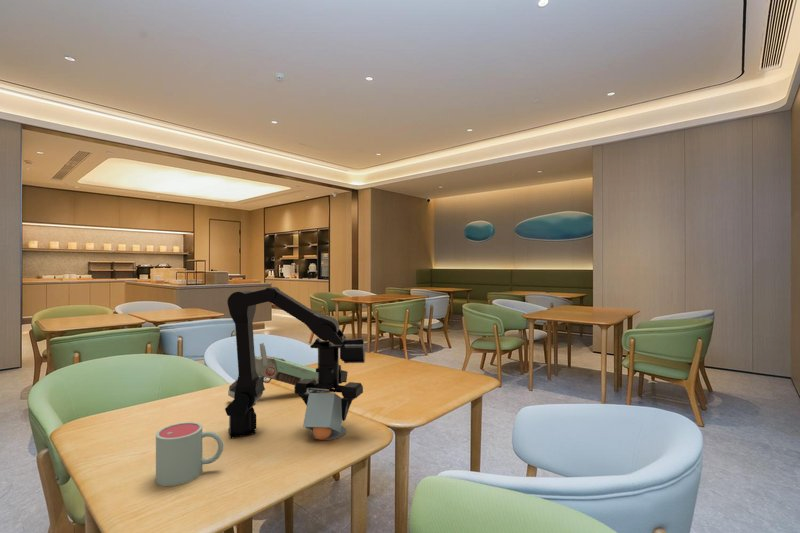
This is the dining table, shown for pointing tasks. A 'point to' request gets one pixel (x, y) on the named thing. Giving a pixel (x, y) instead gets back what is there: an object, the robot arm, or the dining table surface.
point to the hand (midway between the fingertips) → (328, 418)
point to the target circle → (334, 434)
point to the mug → (182, 453)
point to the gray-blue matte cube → (323, 412)
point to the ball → (321, 432)
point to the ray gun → (279, 370)
